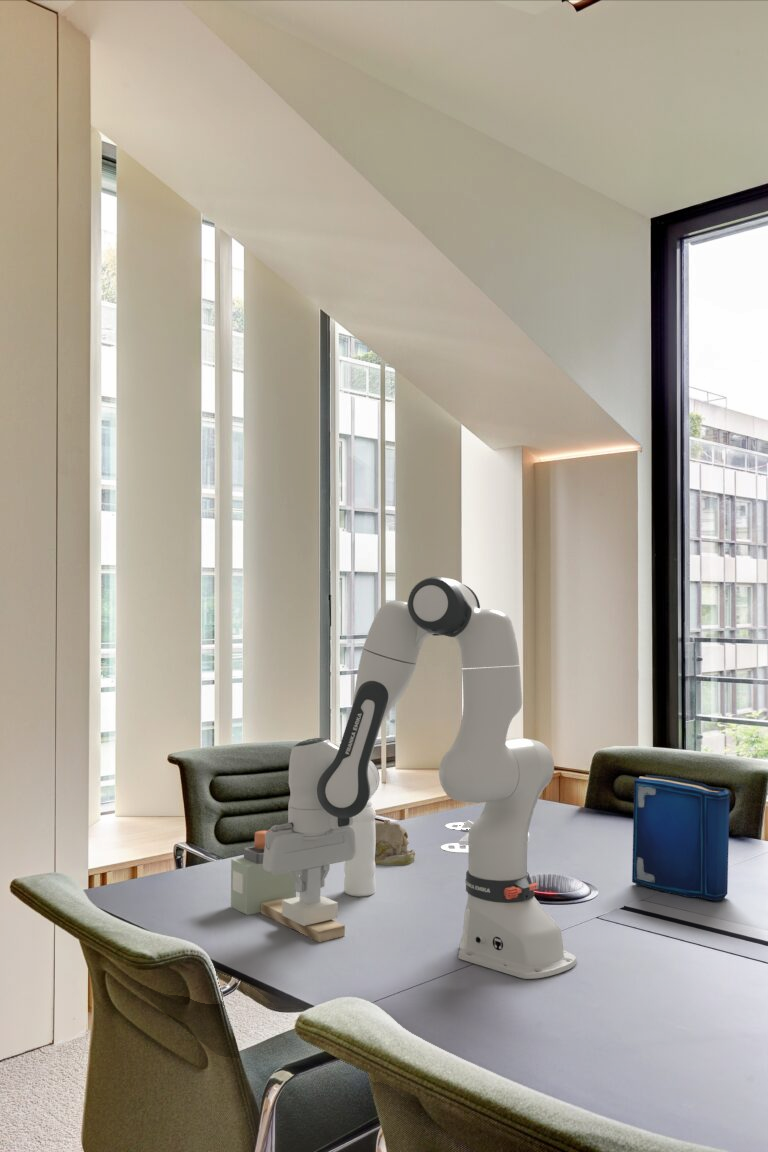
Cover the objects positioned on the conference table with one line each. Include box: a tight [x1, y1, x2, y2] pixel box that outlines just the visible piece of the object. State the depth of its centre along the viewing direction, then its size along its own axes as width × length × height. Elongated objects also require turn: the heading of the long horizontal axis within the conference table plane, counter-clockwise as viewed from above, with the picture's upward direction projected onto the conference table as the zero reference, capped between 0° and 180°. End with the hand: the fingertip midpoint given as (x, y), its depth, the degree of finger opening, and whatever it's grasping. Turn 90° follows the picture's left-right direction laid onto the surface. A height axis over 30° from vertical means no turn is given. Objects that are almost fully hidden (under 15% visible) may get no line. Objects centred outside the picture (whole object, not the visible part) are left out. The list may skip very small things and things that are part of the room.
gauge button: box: [254, 830, 272, 849], centre depth 204 cm, size 4×4×3 cm
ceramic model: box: [375, 819, 416, 866], centre depth 242 cm, size 14×11×10 cm
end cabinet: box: [230, 845, 297, 916], centre depth 203 cm, size 7×12×12 cm, turn 128°
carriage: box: [282, 866, 339, 926], centre depth 189 cm, size 8×8×10 cm
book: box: [631, 774, 731, 902], centre depth 215 cm, size 22×7×25 cm, turn 47°
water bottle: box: [343, 798, 377, 898], centre depth 213 cm, size 7×7×25 cm
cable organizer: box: [440, 820, 530, 854], centre depth 265 cm, size 35×24×3 cm
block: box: [260, 898, 346, 943], centre depth 191 cm, size 22×6×2 cm, turn 38°
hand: (309, 889), depth 189 cm, fingers closed on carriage, 3 cm apart
